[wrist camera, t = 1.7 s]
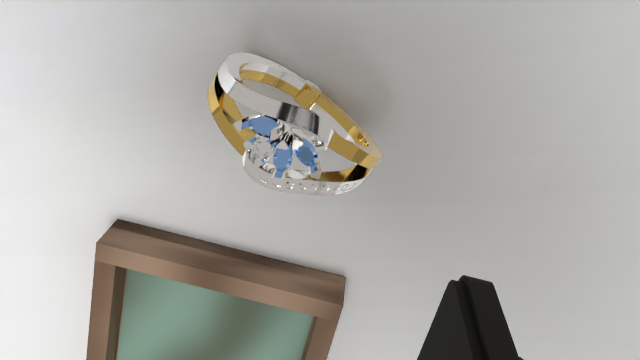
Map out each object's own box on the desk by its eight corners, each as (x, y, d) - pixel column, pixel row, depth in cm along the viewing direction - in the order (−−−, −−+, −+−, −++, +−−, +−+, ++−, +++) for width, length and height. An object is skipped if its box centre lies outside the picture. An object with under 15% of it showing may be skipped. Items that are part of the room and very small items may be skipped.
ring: (225, 71, 25) (164, 129, 18) (266, 12, 24) (218, 49, 17) (349, 163, 27) (338, 251, 19) (393, 111, 25) (399, 185, 18)
